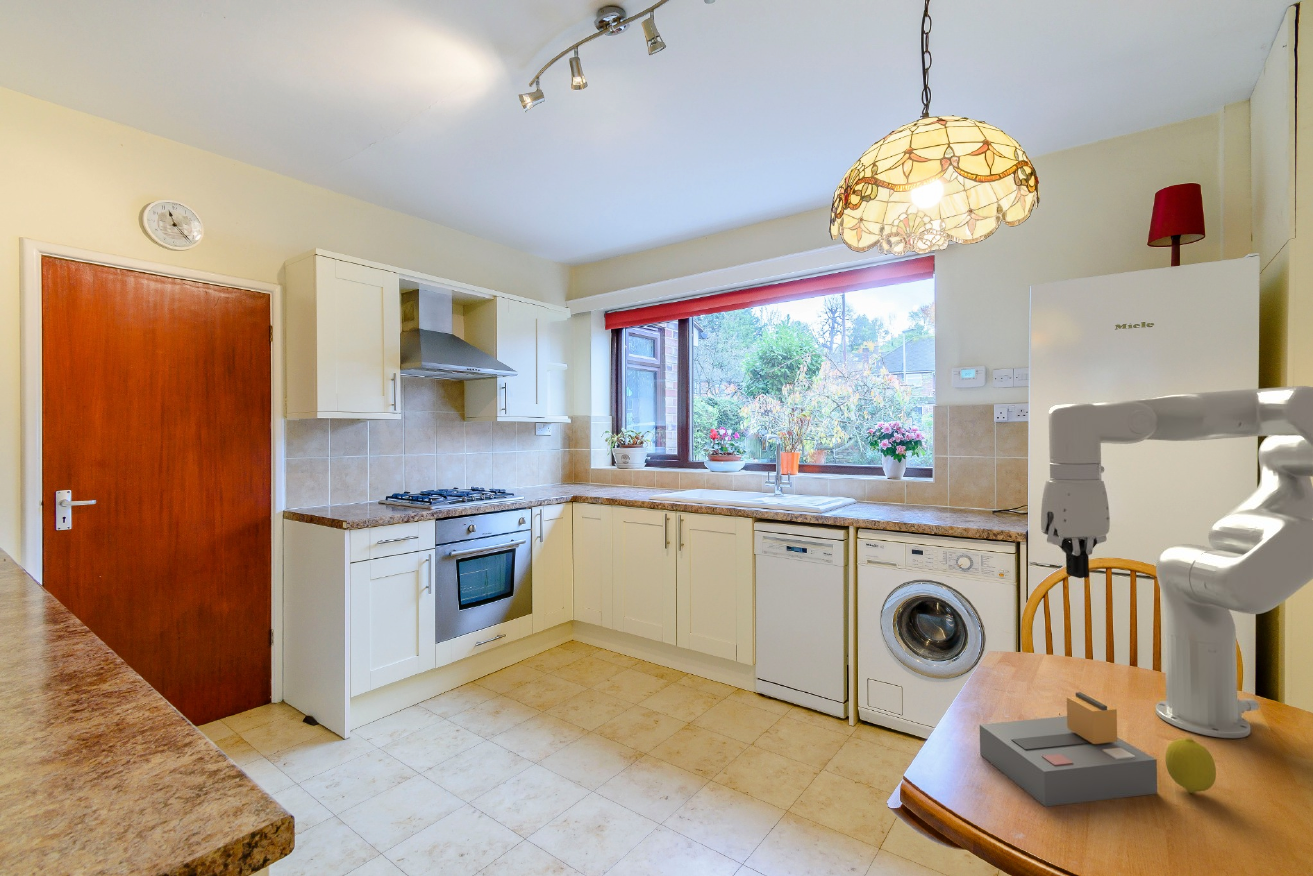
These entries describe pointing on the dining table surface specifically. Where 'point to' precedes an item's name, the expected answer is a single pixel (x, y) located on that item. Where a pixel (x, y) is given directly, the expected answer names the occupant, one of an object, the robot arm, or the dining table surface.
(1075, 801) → the switch panel
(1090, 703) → the orange block
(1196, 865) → the dining table surface
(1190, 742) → the lemon
